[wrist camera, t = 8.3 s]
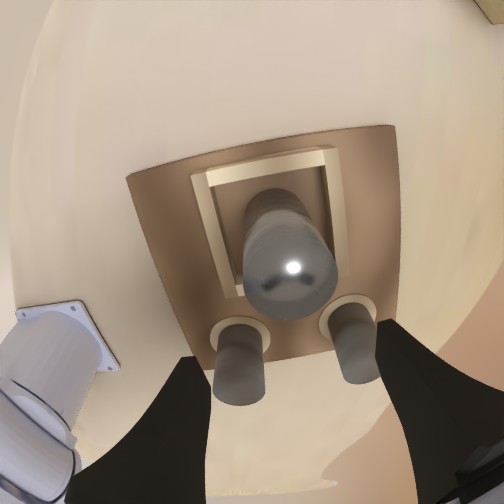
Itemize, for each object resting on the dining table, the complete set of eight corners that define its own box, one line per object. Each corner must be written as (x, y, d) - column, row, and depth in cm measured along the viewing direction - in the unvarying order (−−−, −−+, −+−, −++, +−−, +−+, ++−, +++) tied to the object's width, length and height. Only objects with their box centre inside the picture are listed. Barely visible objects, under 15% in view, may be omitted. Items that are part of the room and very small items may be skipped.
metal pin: (251, 251, 18) (254, 327, 12) (237, 195, 17) (232, 249, 10) (309, 239, 18) (340, 309, 12) (300, 182, 16) (333, 228, 10)
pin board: (202, 361, 24) (193, 420, 19) (131, 173, 17) (85, 202, 12) (389, 327, 23) (416, 379, 17) (387, 124, 16) (442, 134, 10)
